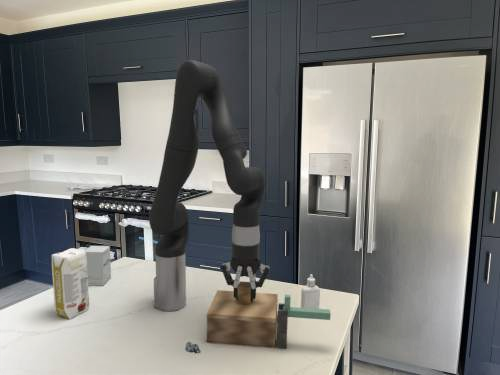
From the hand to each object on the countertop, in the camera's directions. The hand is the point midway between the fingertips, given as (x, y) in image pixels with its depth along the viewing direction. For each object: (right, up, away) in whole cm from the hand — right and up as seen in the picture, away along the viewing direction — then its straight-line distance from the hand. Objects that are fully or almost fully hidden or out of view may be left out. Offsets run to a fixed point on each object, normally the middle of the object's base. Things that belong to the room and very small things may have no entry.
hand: (244, 299), depth 102 cm
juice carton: (-53, -7, +9) cm, 54 cm away
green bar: (+16, -2, -8) cm, 18 cm away
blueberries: (-13, -11, -8) cm, 19 cm away
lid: (0, -2, -1) cm, 2 cm away
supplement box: (-54, -3, +31) cm, 63 cm away
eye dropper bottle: (+20, -8, +12) cm, 25 cm away
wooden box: (+1, -9, 0) cm, 9 cm away
